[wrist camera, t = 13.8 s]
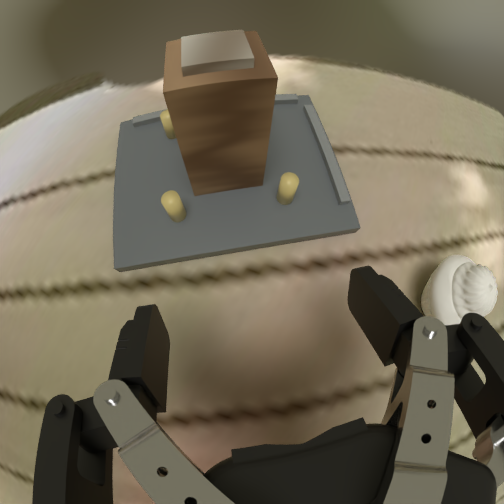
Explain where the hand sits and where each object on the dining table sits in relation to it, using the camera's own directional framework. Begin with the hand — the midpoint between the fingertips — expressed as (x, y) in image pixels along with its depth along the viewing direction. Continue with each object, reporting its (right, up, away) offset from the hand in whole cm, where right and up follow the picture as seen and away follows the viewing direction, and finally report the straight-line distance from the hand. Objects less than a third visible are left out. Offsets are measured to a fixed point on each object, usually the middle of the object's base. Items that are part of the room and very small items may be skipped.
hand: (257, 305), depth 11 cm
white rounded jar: (+15, -2, +8) cm, 17 cm away
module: (-2, +9, +9) cm, 13 cm away
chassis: (-2, +9, +10) cm, 14 cm away
